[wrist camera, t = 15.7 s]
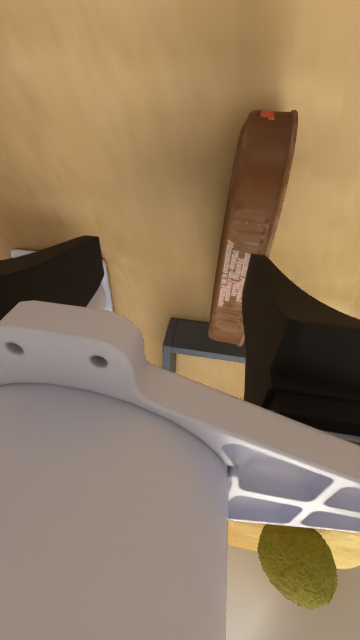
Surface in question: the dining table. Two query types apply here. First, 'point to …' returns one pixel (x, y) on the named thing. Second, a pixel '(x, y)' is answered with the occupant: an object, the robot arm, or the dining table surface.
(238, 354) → the box
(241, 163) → the tin
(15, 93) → the dining table surface
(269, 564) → the fruit
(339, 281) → the dining table surface
